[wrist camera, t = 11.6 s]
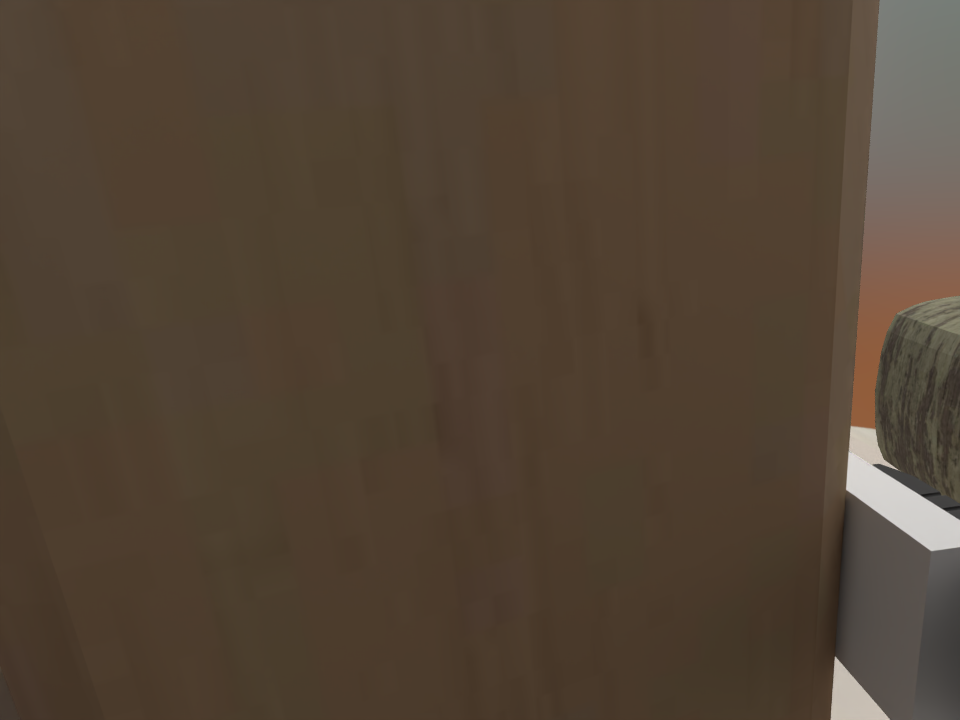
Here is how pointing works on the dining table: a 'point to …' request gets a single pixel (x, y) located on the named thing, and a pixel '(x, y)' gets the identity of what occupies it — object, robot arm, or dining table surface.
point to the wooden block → (427, 356)
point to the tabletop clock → (922, 394)
